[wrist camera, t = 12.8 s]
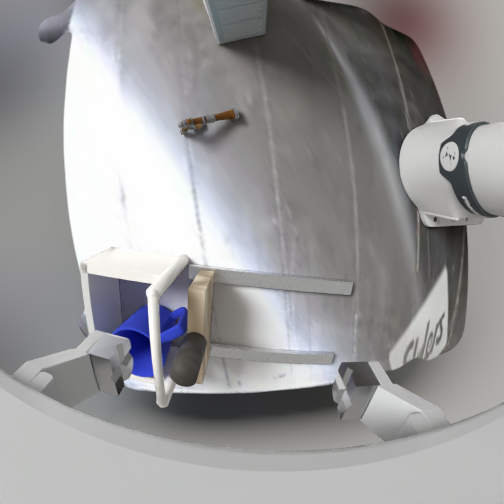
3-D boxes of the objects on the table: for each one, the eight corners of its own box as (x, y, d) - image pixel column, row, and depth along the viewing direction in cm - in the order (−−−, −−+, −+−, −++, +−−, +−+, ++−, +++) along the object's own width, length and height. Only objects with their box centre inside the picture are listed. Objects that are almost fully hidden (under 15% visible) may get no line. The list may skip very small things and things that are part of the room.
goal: (189, 254, 38) (158, 290, 25) (187, 355, 43) (167, 411, 30) (111, 245, 38) (59, 272, 25) (119, 341, 43) (84, 387, 29)
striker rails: (351, 280, 39) (353, 282, 38) (329, 361, 43) (331, 364, 42) (190, 263, 39) (188, 265, 38) (188, 349, 42) (187, 352, 41)
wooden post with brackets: (173, 128, 33) (177, 117, 29) (226, 116, 36) (236, 105, 32) (176, 140, 34) (180, 129, 30) (229, 127, 36) (240, 116, 32)
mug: (211, 320, 41) (200, 358, 31) (154, 347, 43) (134, 383, 33) (181, 277, 39) (160, 305, 30) (126, 309, 41) (98, 340, 31)
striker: (217, 271, 38) (197, 320, 24) (212, 355, 41) (197, 420, 27) (196, 269, 38) (166, 315, 24) (194, 353, 41) (173, 415, 27)
